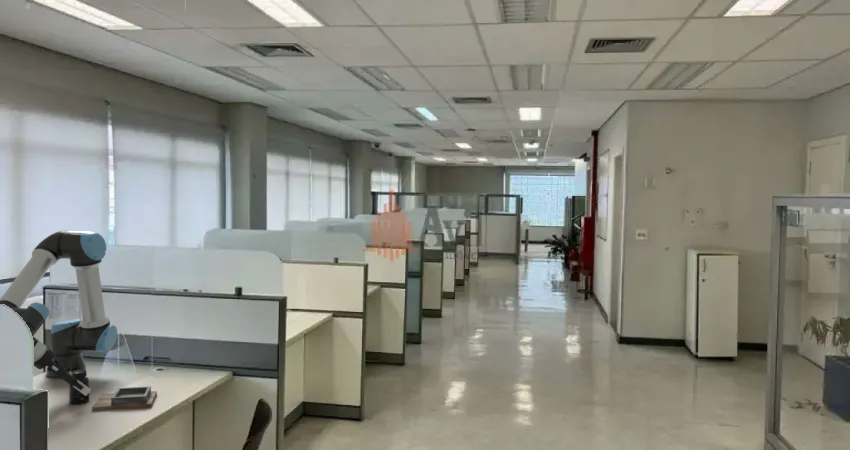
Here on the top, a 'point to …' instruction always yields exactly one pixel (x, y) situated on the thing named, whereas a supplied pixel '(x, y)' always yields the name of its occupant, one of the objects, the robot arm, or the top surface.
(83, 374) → the supplement bottle
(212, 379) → the top surface
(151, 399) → the base board
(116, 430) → the top surface
